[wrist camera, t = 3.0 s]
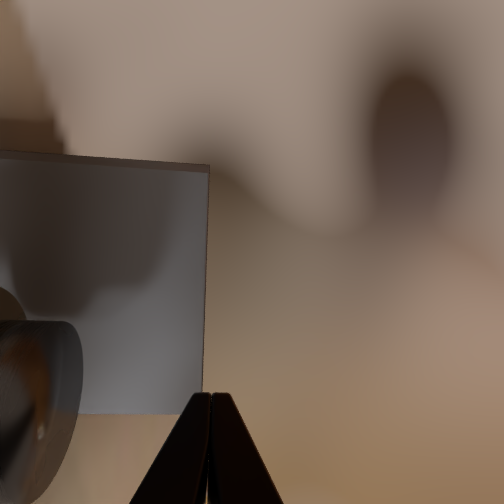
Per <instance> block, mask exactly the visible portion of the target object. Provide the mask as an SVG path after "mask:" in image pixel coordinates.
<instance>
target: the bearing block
mask: <svg viewBox="0 0 504 504" xmlns="http://www.w3.org/2000/svg"><path fill="white" fill-rule="evenodd" d="M209 168H210V165H204V164H189V163H174V162H161V161H147V160H132V159H119V158H105V157H90V156H76V155H62V154H48V153H34V152H20V151H6V150H0V287H2V288H4V289H6V290H7V291H9V292H10V293H11V294H12V295H13V296H14V297H15V298H16V299H17V301H18V302H19V303H20V305H21V307H22V309H23V310H24V313H25V315H26V318H27V320H43V321H66V322H69V323H70V324H72V325H73V326H74V328H75V329H76V331H77V333H78V335H79V338H80V341H81V345H82V352H83V386H82V394H81V401H80V406H79V411H78V414H181V413H182V411H183V410H184V408H185V406H186V405H187V403H188V401H189V399H190V398H191V396H192V395H193V394H194V393H195V392H202V385H203V384H202V382H203V354H204V322H205V292H206V261H207V231H208V202H209V201H208V200H209V199H208V198H209V171H210V170H209Z"/></svg>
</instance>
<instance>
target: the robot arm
mask: <svg viewBox="0 0 504 504" xmlns="http://www.w3.org/2000/svg"><path fill="white" fill-rule="evenodd" d="M208 460H209V462H208ZM207 479H208V484H207ZM206 495H207V504H284V503H283V501H282V499H281V497H280V495H279V493H278V491H277V489H276V487H275V485H274V483H273V481H272V479H271V477H270V475H269V472H268V470H267V468H266V466H265V464H264V462H263V460H262V458H261V456H260V454H259V452H258V450H257V448H256V446H255V444H254V442H253V440H252V438H251V436H250V433H249V431H248V429H247V427H246V425H245V423H244V421H243V419H242V417H241V415H240V413H239V411H238V409H237V407H236V405H235V403H234V401H233V399H232V397H231V395H230V394H229V393H217V392H216V393H213V394H212V399H211V394H210V393H209V392H195V393H194V394H193V395H192V396H191V398H190V399H189V401H188V403H187V405H186V406H185V408H184V410H183V411H182V413H181V415H180V417H179V418H178V420H177V422H176V424H175V425H174V427H173V429H172V430H171V432H170V434H169V436H168V437H167V439H166V441H165V443H164V444H163V446H162V448H161V449H160V451H159V453H158V455H157V456H156V458H155V460H154V462H153V463H152V465H151V467H150V468H149V470H148V472H147V474H146V475H145V477H144V479H143V480H142V482H141V484H140V486H139V487H138V489H137V491H136V493H135V494H134V496H133V498H132V499H131V501H130V503H129V504H206Z"/></svg>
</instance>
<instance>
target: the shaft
mask: <svg viewBox="0 0 504 504" xmlns="http://www.w3.org/2000/svg"><path fill="white" fill-rule="evenodd" d="M82 386H83V352H82V345H81V341H80V338H79V335H78V333H77V331H76V329H75V328H74V326H73V325H72V324H70V323H69V322H66V321H43V320H27V318H26V315H25V313H24V310H23V309H22V307H21V305H20V303H19V302H18V301H17V299H16V298H15V297H14V296H13V295H12V294H11V293H10V292H9V291H7V290H6V289H4V288H2V287H0V504H30V503H32V502H34V501H35V500H36V499H37V498H39V497H40V496H41V495H42V494H43V492H44V491H45V490H46V489H47V487H48V486H49V485H50V483H51V482H52V480H53V478H54V477H55V475H56V473H57V471H58V469H59V467H60V465H61V463H62V461H63V459H64V456H65V454H66V452H67V449H68V446H69V443H70V441H71V438H72V434H73V431H74V428H75V424H76V420H77V416H78V411H79V406H80V401H81V394H82Z"/></svg>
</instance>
